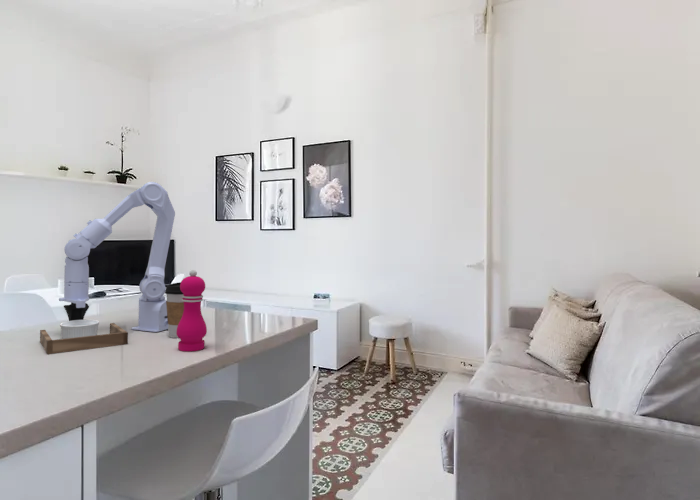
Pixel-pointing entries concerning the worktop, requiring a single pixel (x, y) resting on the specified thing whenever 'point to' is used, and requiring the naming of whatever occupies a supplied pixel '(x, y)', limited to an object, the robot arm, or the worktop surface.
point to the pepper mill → (192, 314)
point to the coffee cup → (174, 307)
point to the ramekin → (79, 328)
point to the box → (84, 341)
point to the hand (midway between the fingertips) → (75, 330)
